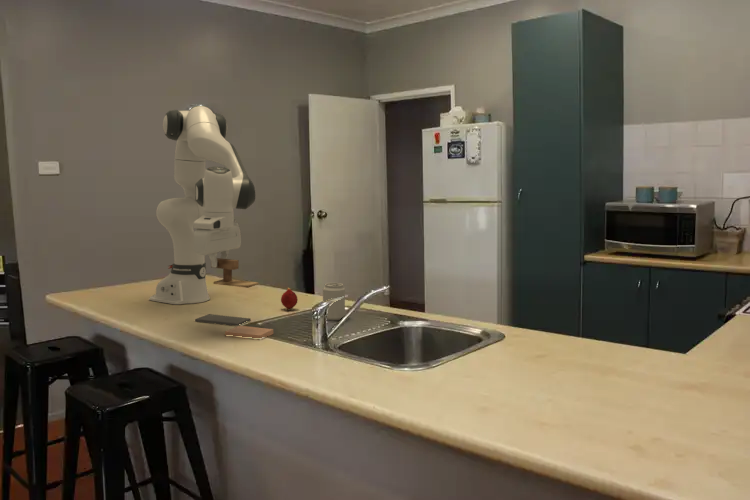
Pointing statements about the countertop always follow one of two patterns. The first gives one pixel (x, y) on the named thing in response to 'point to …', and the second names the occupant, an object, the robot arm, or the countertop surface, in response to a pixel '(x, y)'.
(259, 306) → the countertop surface
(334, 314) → the can
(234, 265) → the wooden trowel
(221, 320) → the mat
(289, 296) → the onion
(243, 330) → the tile
